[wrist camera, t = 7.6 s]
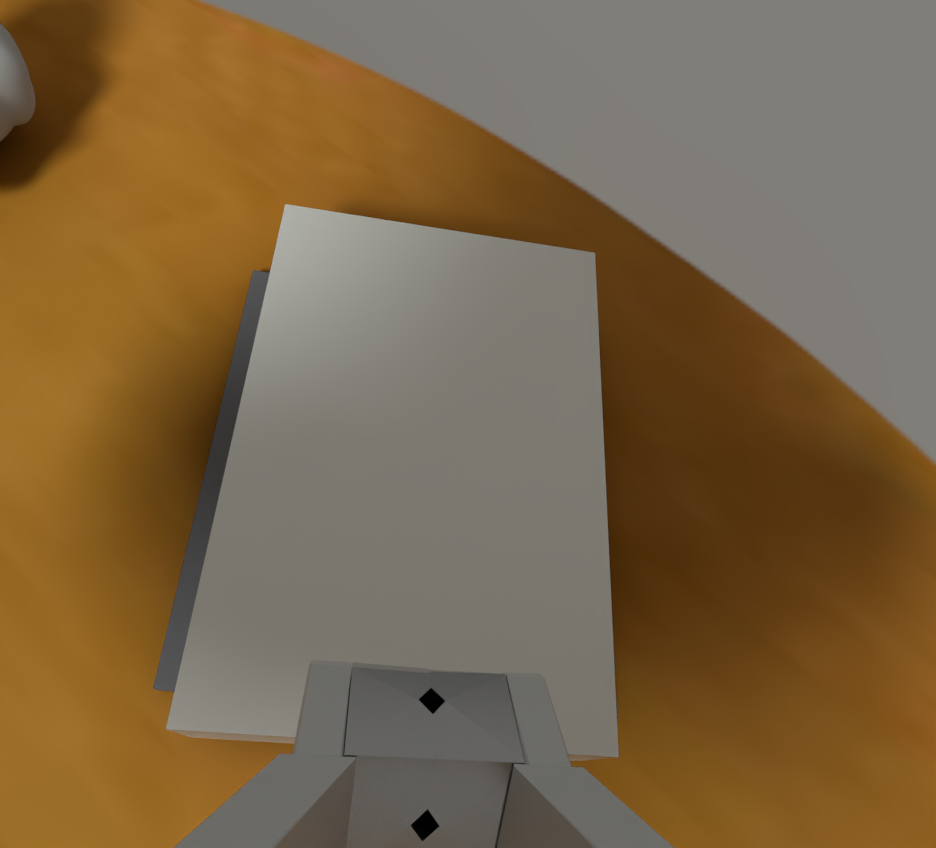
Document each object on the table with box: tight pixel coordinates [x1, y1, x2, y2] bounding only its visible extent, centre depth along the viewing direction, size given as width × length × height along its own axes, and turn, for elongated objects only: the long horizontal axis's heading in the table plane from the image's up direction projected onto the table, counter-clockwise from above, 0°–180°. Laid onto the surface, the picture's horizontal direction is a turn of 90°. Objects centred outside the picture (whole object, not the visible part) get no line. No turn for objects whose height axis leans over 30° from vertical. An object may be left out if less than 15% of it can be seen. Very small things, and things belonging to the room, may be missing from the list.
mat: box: [153, 270, 617, 710], centre depth 18 cm, size 10×11×1 cm
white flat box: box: [166, 204, 619, 761], centre depth 16 cm, size 8×3×12 cm
